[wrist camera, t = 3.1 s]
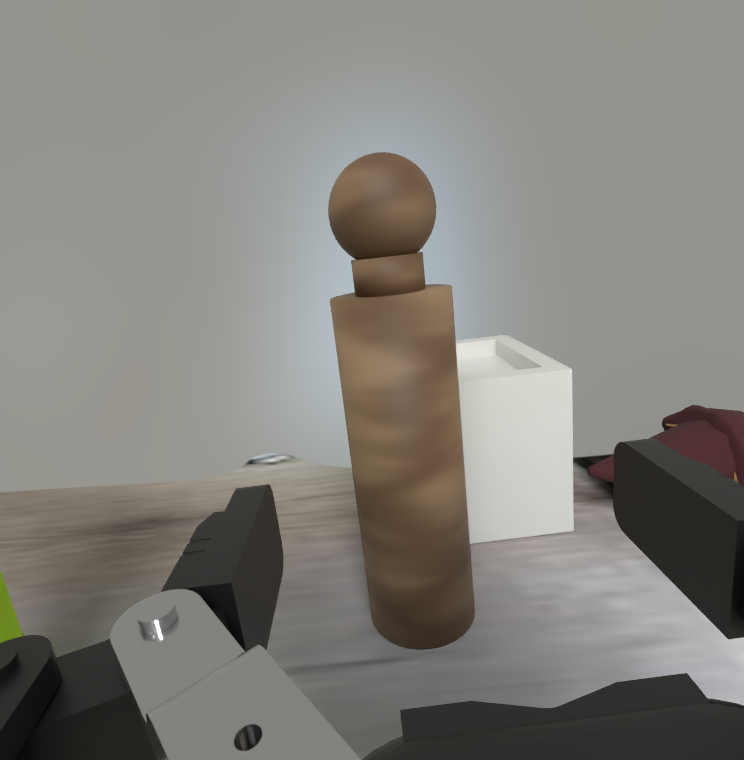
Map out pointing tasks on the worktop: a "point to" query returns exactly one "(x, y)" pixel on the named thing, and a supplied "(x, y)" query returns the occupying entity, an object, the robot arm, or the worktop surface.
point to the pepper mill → (402, 405)
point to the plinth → (515, 439)
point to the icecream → (698, 441)
